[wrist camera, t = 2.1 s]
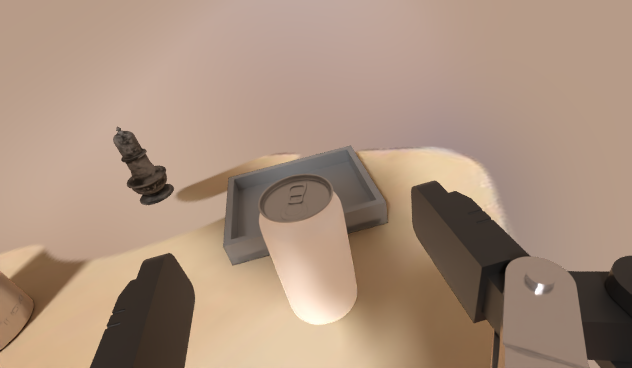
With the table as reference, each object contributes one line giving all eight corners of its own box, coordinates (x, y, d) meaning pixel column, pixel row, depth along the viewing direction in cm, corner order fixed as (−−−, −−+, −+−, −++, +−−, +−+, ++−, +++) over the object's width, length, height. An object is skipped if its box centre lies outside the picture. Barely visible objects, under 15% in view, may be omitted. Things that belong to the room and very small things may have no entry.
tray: (232, 265, 36) (223, 246, 34) (235, 194, 47) (228, 177, 45) (387, 222, 36) (386, 202, 35) (353, 162, 48) (350, 145, 46)
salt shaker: (174, 179, 55) (138, 113, 48) (177, 195, 50) (138, 125, 43) (138, 193, 53) (96, 127, 46) (138, 211, 48) (92, 141, 42)
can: (286, 330, 28) (243, 231, 21) (293, 271, 33) (260, 176, 26) (361, 324, 27) (340, 219, 20) (355, 264, 32) (338, 165, 26)
